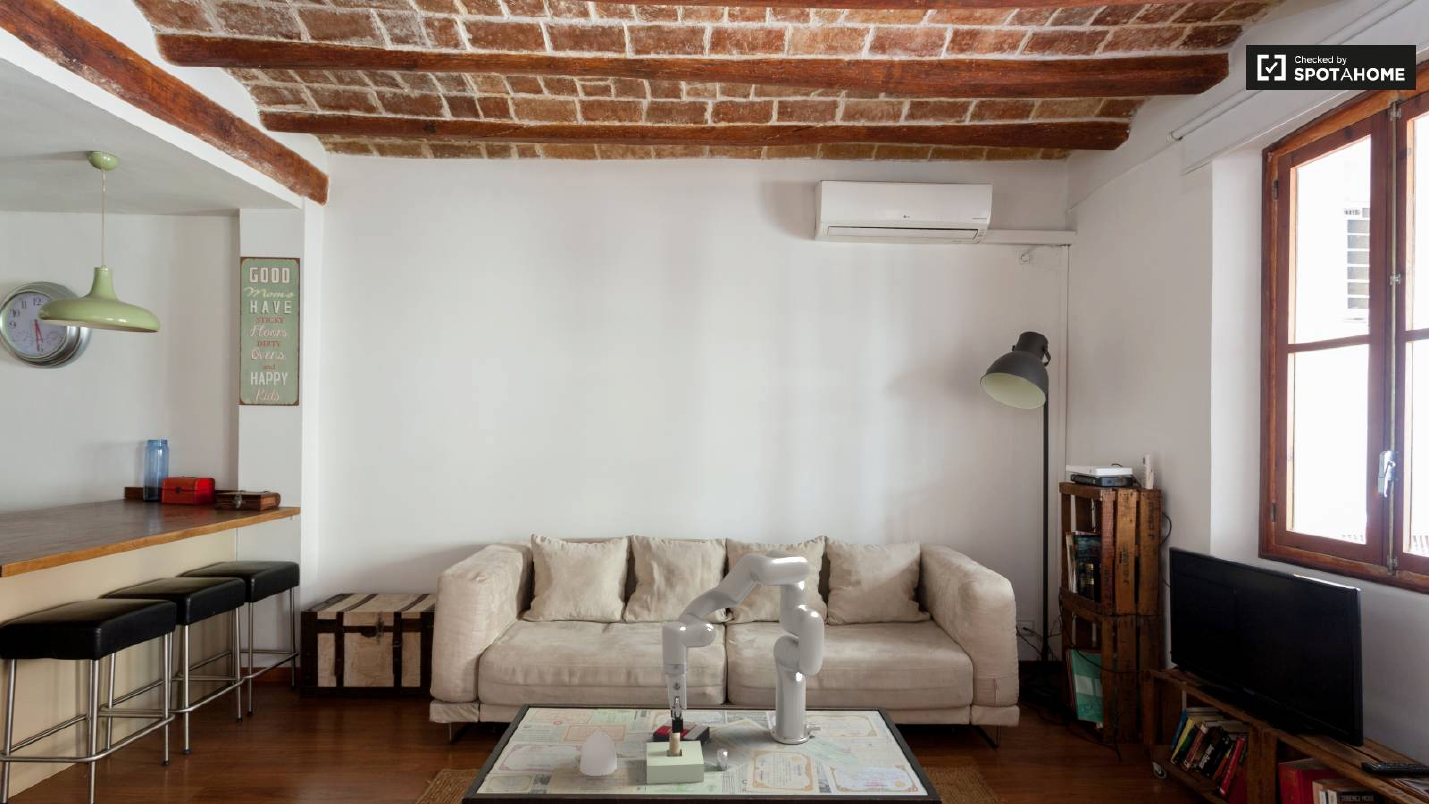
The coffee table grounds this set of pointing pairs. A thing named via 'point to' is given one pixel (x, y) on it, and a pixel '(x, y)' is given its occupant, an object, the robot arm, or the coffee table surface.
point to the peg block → (674, 763)
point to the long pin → (674, 744)
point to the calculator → (689, 732)
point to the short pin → (722, 759)
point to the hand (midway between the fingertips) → (677, 724)
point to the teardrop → (598, 754)
